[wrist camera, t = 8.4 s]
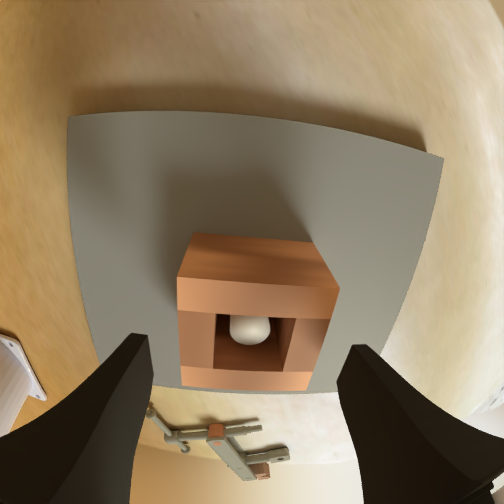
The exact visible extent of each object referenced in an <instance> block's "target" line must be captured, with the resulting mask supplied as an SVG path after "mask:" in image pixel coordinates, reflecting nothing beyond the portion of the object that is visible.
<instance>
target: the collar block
mask: <svg viewBox="0 0 504 504" xmlns="http://www.w3.org/2000/svg"><path fill="white" fill-rule="evenodd" d="M339 291H340V287H339V285H338V283H337V282H336V280H335V278H334V277H333V275H332V273H331V271H330V270H329V268H328V266H327V265H326V263H325V261H324V260H323V258H322V256H321V255H320V253H319V251H318V250H317V248H316V246H315V245H314V243H311V242H300V241H290V240H279V239H267V238H256V237H244V236H233V235H221V234H208V233H196V232H193V235H192V238H191V240H190V243H189V245H188V248H187V251H186V253H185V256H184V258H183V261H182V264H181V267H180V269H179V272H178V275H177V310H178V334H179V351H180V366H181V379H182V386H191V387H201V388H213V389H228V390H250V391H306V389H307V386H308V384H309V381H310V379H311V376H312V373H313V370H314V368H315V365H316V362H317V359H318V357H319V354H320V351H321V348H322V345H323V342H324V339H325V336H326V333H327V330H328V327H329V324H330V321H331V318H332V314H333V311H334V308H335V305H336V301H337V298H338V294H339ZM230 315H245V316H261V317H268V318H269V324H270V333H269V335H268V337H267V338H266V339H265V340H264V341H262V342H261V343H258V344H255V345H244V344H240V343H238V342H237V341H235V340H234V339H233V338H232V336H231V334H230Z"/></svg>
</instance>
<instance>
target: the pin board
mask: <svg viewBox="0 0 504 504" xmlns="http://www.w3.org/2000/svg"><path fill="white" fill-rule="evenodd" d="M443 162H444V158H442V157H439V156H436V155H433V154H430V153H427V152H424V151H421V150H418V149H414V148H411V147H408V146H404V145H401V144H398V143H394V142H390V141H387V140H383V139H379V138H375V137H371V136H367V135H363V134H359V133H355V132H350V131H346V130H341V129H336V128H331V127H326V126H321V125H315V124H310V123H304V122H298V121H291V120H284V119H277V118H269V117H261V116H252V115H242V114H231V113H217V112H198V111H127V112H109V113H96V114H85V115H76V116H68V128H67V182H68V200H69V213H70V224H71V233H72V241H73V248H74V255H75V261H76V268H77V273H78V279H79V284H80V289H81V294H82V299H83V303H84V308H85V312H86V316H87V320H88V324H89V328H90V332H91V335H92V339H93V343H94V346H95V349H96V353H97V356H98V359H99V362H100V365H101V364H102V363H103V362H104V361H105V360H106V359H107V358H108V357H109V356H110V355H111V354H112V353H113V352H114V350H115V349H116V348H117V347H118V346H119V345H120V344H121V343H122V342H123V341H124V339H125V338H126V337H127V336H128V335H129V334H130V333H138V334H145V335H148V339H149V346H150V353H151V359H152V365H153V371H154V377H153V384H152V385H156V386H163V387H170V388H178V389H187V390H197V391H209V392H223V393H242V394H310V393H329V392H338V389H337V383H336V381H337V378H338V376H339V374H340V372H341V369H342V367H343V365H344V363H345V360H346V358H347V355H348V353H349V351H350V348H351V346H352V345H353V344H367V345H368V346H369V347H370V348H372V349H373V350H374V351H375V352H376V353H377V354H378V355H379V356H380V354H381V352H382V350H383V348H384V345H385V343H386V341H387V339H388V337H389V335H390V332H391V330H392V328H393V326H394V323H395V321H396V319H397V316H398V314H399V311H400V309H401V307H402V304H403V302H404V299H405V296H406V294H407V291H408V289H409V286H410V283H411V280H412V278H413V275H414V272H415V269H416V266H417V263H418V260H419V257H420V254H421V251H422V248H423V244H424V241H425V238H426V234H427V231H428V227H429V224H430V220H431V216H432V212H433V208H434V204H435V200H436V196H437V192H438V187H439V182H440V178H441V173H442V167H443ZM193 232H196V233H208V234H221V235H233V236H244V237H256V238H267V239H279V240H290V241H300V242H311V243H314V245H315V246H316V248H317V250H318V251H319V253H320V255H321V256H322V258H323V260H324V261H325V263H326V265H327V266H328V268H329V270H330V271H331V273H332V275H333V277H334V278H335V280H336V282H337V283H338V285H339V287H340V291H339V294H338V298H337V301H336V305H335V308H334V311H333V314H332V318H331V321H330V324H329V327H328V330H327V333H326V336H325V339H324V342H323V345H322V348H321V351H320V354H319V357H318V359H317V362H316V365H315V368H314V370H313V373H312V376H311V379H310V381H309V384H308V386H307V389H306V391H250V390H228V389H213V388H201V387H191V386H182V379H181V366H180V351H179V334H178V310H177V275H178V272H179V269H180V267H181V264H182V261H183V258H184V256H185V253H186V251H187V248H188V245H189V243H190V240H191V238H192V235H193ZM269 333H270V324H269V318H268V317H261V316H245V315H230V334H231V336H232V338H233V339H234V340H235V341H237V342H238V343H240V344H244V345H255V344H258V343H261V342H262V341H264V340H265V339H266V338H267V337H268V335H269Z"/></svg>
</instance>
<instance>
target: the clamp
mask: <svg viewBox="0 0 504 504" xmlns="http://www.w3.org/2000/svg"><path fill="white" fill-rule="evenodd" d="M146 417H147V418H148V419H152V420H153V421H154V422H155V423H156V424H157V425H158V426H159V427H160V428H161V429H162V430H163V431H164V432H165V433H164V440H165V442H166V443H167V444H177V445H178V446H179V447H180V448H181V451H182V453H184V454H187V453H189V452H190V447H189V446H188V445H184V444H183V443H182V442H183V441H189V440H203V439H206V442H207V443H208V444H209V445H210V447H211V448H212V449H213V450H214V451H215V452H216V453H217V454H218V455H219V456H220V458H221V459H222V460H223V461H224V462H225V463H226V464H227V466H228V467H230V468H231V469H232V470H233V471H234V472H235V473H236V474H237V475H238V476H239V477H240V478H241V479H242V480H243V481H250V480H256V479H257V478H258V479H259V480H261V479H268V478H270V472H269V464H266V462H269V461H271V463H275V462H281V461H286V460H290V456H289V450H288V448H281V449H275V450H270V451H268V453H264V454H258V455H251V456H247V454H246V453H245V452H244V451H243V449H242V448H241V446H240V445H239V444H238V442H237V441H236V440H235V438H234V437H233V436H239V435H246V434H247V433H251V432H256V431H262V426H261V425H257V426H251V427H250V426H248V427H246V426H242V427H235V428H228V429H226V428H225V426H224V425H223V424H217V423H216V424H211V425H209V431H200V432H187V433H182V432H181V431H180V430H177V431H170V430H169V429H168V428H167V426H166V425H165V424H164V423H163V422H162V421H161V420H160V419H159V418H158V417H157V416H156V411H155V410H154V409H149V410H147V412H146Z"/></svg>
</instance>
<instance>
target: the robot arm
mask: <svg viewBox="0 0 504 504" xmlns="http://www.w3.org/2000/svg"><path fill="white" fill-rule="evenodd" d="M153 377H154V371H153V365H152V359H151V353H150V346H149V339H148V335H145V334H138V333H130V334H129V335H128V336H127V337H126V338H125V339H124V341H123V342H122V343H121V344H120V345H119V346H118V347H117V348H116V349H115V350H114V352H113V353H112V354H111V355H110V356H109V357H108V358H107V359H106V360H105V361H104V362H103V363H102V364H101V365H100V366H99V367H98V368H97V369H96V370H95V371H94V372H93V373H92V374H91V375H90V376H89V377H88V378H87V379H86V380H85V381H84V382H83V383H82V384H81V385H79V386H78V387H77V388H76V389H75V390H74V391H73V392H72V393H70V394H69V395H68V396H67V397H66V398H64V399H63V400H62V401H60V402H59V403H58V404H57V405H55V406H54V407H52V408H51V409H50V410H48V411H47V412H45V413H44V414H42V415H41V416H39V417H38V418H36V419H35V420H33V421H31V422H29V423H28V424H26V425H24V426H22V427H20V428H18V429H16V430H14V431H12V432H10V430H11V428H12V425H13V423H14V421H15V419H16V417H17V415H18V413H19V411H20V409H21V407H22V406H23V404H24V402H25V400H26V398H27V396H28V395H30V396H33V397H35V398H38V399H40V400H43V401H46V399H47V396H46V394H45V393H44V391H43V389H42V387H41V386H40V384H39V382H38V380H37V378H36V376H35V374H34V372H33V370H32V368H31V366H30V364H29V362H28V360H27V358H26V356H25V354H24V352H23V349H22V347H21V345H20V343H19V342H18V341H17V340H16V339H14V338H11V337H8V336H5V335H2V334H0V504H129V500H130V487H131V477H132V469H133V460H134V455H135V450H136V446H137V443H138V439H139V435H140V432H141V428H142V425H143V421H144V418H145V414H146V411H147V407H148V404H149V400H150V395H151V390H152V384H153ZM336 383H337V389H338V395H339V400H340V404H341V408H342V411H343V414H344V417H345V420H346V423H347V426H348V429H349V432H350V435H351V438H352V441H353V444H354V448H355V451H356V455H357V458H358V463H359V469H360V475H361V481H362V490H363V498H364V504H504V486H503V487H501V488H500V489H499V490H497V491H496V492H495V493H493V494H492V495H491V492H490V490H491V489H493V488H494V485H493V483H492V481H493V480H494V479H496V478H497V477H498V476H499V475H501V474H502V473H503V472H504V439H503V438H500V437H497V436H493V435H491V434H488V433H486V432H483V431H481V430H478V429H476V428H474V427H472V426H470V425H468V424H466V423H464V422H462V421H460V420H459V419H457V418H455V417H453V416H452V415H450V414H448V413H447V412H445V411H444V410H442V409H441V408H440V407H438V406H437V405H435V404H434V403H432V402H431V401H430V400H428V399H427V398H426V397H425V396H423V395H422V394H421V393H420V392H419V391H417V390H416V389H415V388H414V387H413V386H411V385H410V384H409V383H408V382H407V381H406V380H405V379H404V378H402V377H401V376H400V375H399V374H398V373H397V372H396V371H395V370H394V369H393V368H392V367H391V366H390V365H389V364H388V363H387V362H385V361H384V360H383V359H382V358H381V357H380V356H379V355H378V354H377V353H376V352H375V351H374V350H373V349H372V348H370V347H369V346H368V345H367V344H353V345H352V346H351V348H350V351H349V353H348V355H347V358H346V360H345V363H344V365H343V367H342V369H341V372H340V374H339V376H338V378H337V381H336ZM9 432H10V433H9Z"/></svg>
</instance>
